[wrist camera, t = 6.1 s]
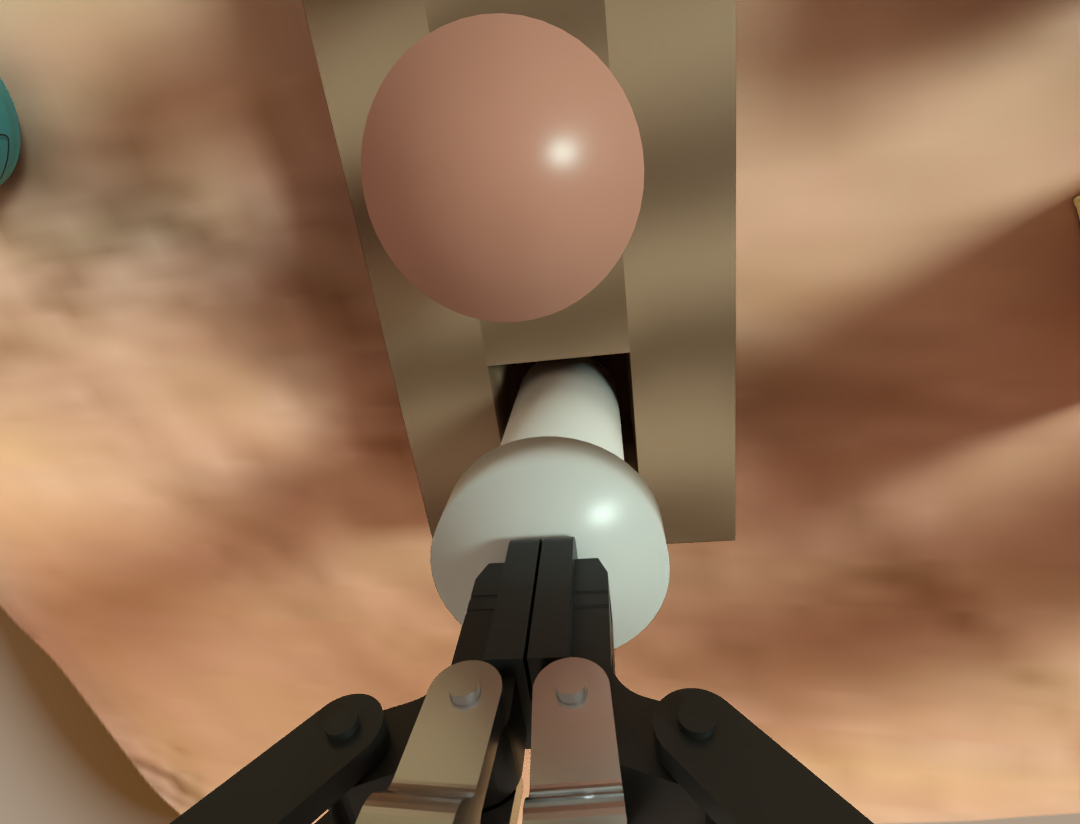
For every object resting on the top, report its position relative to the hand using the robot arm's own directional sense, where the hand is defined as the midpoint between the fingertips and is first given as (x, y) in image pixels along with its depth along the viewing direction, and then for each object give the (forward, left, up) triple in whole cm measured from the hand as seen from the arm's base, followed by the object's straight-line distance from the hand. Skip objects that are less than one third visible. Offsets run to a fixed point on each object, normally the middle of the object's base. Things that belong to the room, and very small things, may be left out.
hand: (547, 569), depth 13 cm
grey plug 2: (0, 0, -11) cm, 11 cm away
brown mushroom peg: (+6, -6, -12) cm, 14 cm away
